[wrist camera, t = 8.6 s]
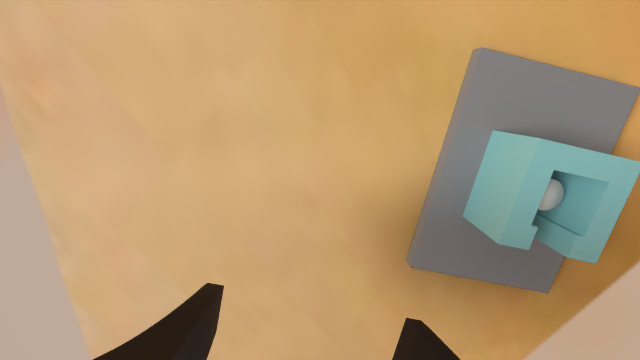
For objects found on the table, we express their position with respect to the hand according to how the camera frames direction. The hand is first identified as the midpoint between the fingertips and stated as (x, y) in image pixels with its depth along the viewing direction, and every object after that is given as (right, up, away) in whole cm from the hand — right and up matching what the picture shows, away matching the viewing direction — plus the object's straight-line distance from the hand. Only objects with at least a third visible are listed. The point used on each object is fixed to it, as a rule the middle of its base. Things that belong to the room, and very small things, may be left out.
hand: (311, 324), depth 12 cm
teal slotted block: (+13, +5, +8) cm, 16 cm away
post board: (+13, +6, +9) cm, 16 cm away
